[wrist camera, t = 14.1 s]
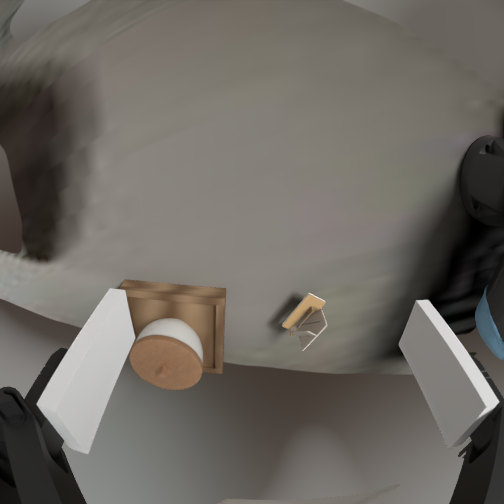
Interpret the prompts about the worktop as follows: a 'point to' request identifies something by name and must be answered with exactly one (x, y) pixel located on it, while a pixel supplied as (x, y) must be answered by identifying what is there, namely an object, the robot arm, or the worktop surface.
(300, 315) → the architectural model
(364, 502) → the worktop surface
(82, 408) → the robot arm
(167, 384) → the lidded jar
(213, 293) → the wooden tray
